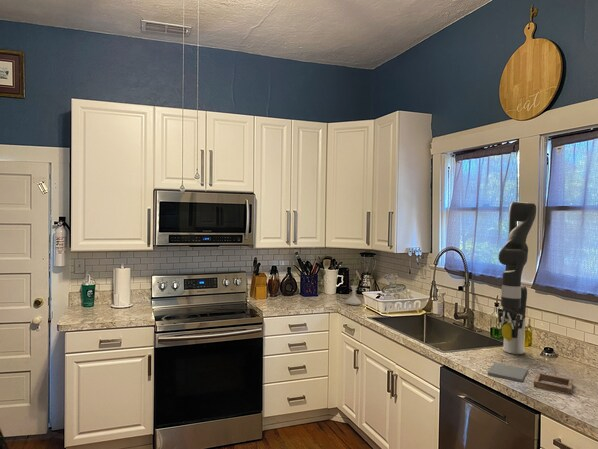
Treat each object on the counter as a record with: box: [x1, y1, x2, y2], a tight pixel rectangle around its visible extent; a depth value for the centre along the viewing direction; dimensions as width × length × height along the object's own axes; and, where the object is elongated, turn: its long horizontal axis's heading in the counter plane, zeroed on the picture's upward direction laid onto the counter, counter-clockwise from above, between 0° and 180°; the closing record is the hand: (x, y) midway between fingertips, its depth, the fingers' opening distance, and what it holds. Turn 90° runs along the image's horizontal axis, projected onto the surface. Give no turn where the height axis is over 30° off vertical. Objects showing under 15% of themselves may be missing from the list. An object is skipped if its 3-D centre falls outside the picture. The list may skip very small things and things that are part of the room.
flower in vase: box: [345, 270, 362, 306], centre depth 324 cm, size 13×11×25 cm
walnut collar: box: [533, 372, 574, 395], centre depth 172 cm, size 12×12×2 cm
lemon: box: [501, 322, 514, 341], centre depth 185 cm, size 6×6×8 cm
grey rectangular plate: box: [487, 362, 529, 383], centre depth 185 cm, size 16×13×1 cm
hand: (509, 335), depth 185 cm, fingers closed on lemon, 5 cm apart
